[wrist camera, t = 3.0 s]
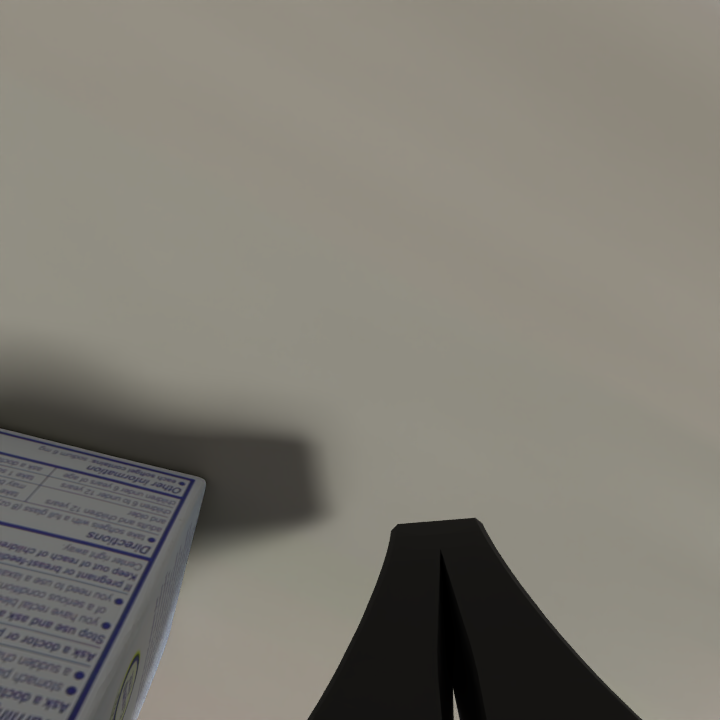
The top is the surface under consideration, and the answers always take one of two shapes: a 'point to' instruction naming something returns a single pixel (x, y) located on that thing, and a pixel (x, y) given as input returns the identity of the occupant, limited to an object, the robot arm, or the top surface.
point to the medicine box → (86, 577)
